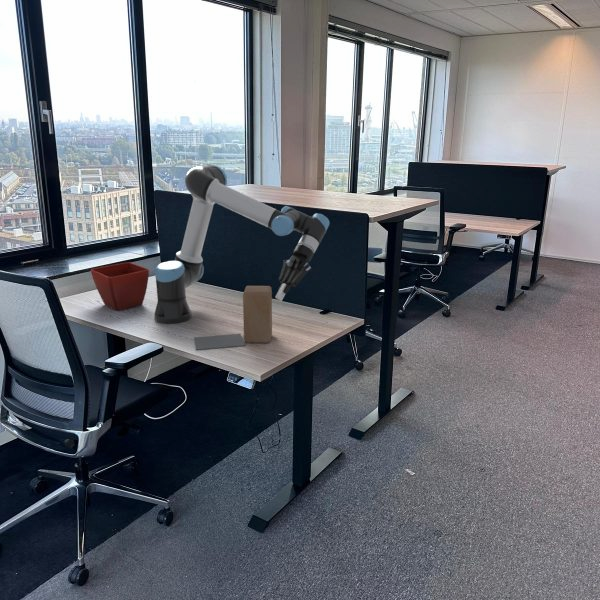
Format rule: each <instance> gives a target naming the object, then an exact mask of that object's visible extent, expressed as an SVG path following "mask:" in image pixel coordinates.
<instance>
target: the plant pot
mask: <svg viewBox="0 0 600 600" xmlns="http://www.w3.org/2000/svg"><path fill="white" fill-rule="evenodd" d="M90 273H91V276H92V277H91V278H92V279H93V282H94V285H95V288H96V289H97V292H98V294H99V297H100V298H101V301H102V302H103V305H105V306H106V307H108V306H109V307H108V308H111V309H113V310H115V311H122V310H126V309H129V308H134V307H137V306H142V305H143V304H144V300H145V297H146V294H147V288H148V284H149V283H148V282H149V274H150V270H149V268H146V267H143V266H140V265H138V264H136V263H132V262H131V261H130V262H122V263H116V264H112V265H105V266H100V267H95V268H91V269H90Z"/></svg>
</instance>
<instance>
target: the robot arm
mask: <svg viewBox="0 0 600 600" xmlns="http://www.w3.org/2000/svg"><path fill="white" fill-rule="evenodd" d="M184 184H185V187H186V189H187V191H188V193H190V195H191V196H192V203H191V208H190V212H189V214H188V215H189V216H188V220H187V224H186V229H185V232H184V237H183V241H182V245H181V249H180V250H179V251H177V252H176V253H175V258H174V260H168V261H164V262H161V263H159V264H158V265H156V267H155V276H154V277H155V284H156V295H157V304H156V307H155V311H154V320H155V321H156V320H157V321H159V322H158V323H160V322H164V323H163V324H179V323H183V322H187V321H189V320H191V318H192V311H191V308H190V306H189V303H188V301H187V294H186V293H187V292H186V291H187V290H186V289H187V288H189V287H191V286H192V285H194V284H197V282H199V280H201V278H202V277H203V275H204V270H205V268H204V265H203V261H204V259H203V258H204V257H202V251H203V247H204V243H205V240H206V236H207V231H208V228H209V225H210V219H211V216H212V213H213V209H214V205H215V204H217V205H219V206H222V207H224V208H225V209H228V210H230V211H232V212H235V213H236V214H239V215H241V216H243V217H245V218H247V219H249V220H251V221H254V222H256V223H258V224H260V225H262V226H264V227H266V228H269V230H272V232H273V233H274V234H275V235H277V236H279V237H283V236H288V235H290V234H291V233H293V231H296V232H298V233H300V234H302V235H301V237H300V239H299V241H298V243H297V245H296V246H295V248H294V249H293V252H292V256H291V257H290V258H289V259H283V260H282V263H283V265H282V268H281V271H280V272H279V277H278V281H279V282H280V285H279V287H278V289H277V290H278V291H277V293H276V295H275V299H276V300H277V301H278V302H282V301H283V299H284V298H285V296H286V295H287V294H288V293H289V291H290V289H291V288H292V287H294V288H296V287H297V286H298V285H299V284H300V282H301V281H302V280H303V278H304V277H305V276H306V275H307V273H308V272H310V271H311V270H312V267H311V266H310V264H309V263H310V262H311V260H312V258H313V256H314V254H315V253H316V251H317V249H318V247H319V245H320V243H321V242H322V241H323V239H324V236H325V234H326V233H327V230H328V228H329V226H330V220H329V218H328V217H326V216H325V215H324V214H322V213H319V212H318V213H317V212H316V213H314V214H313V215H312V216H311V215H308V214H306V213H303V212H301V211H299V210H297V209H295V208H294V207H290V206H287V205H285V206H284V207H282V208H281V211H280V210H278V209H277V208H273V207H272V206H270V205H267V204H265V203H264V202H262V201H258V200H257V199H255V198H252V197H250V196H249V195H246V194H244V193H242V192H240V191H238V190H236V189H233V188H231V187H229V186H227V184H228V177H227V174H226V172H225V171H224V169H223V168H221V166H219V165H217V164H206V165H200V166H194V167H192V168H190V169H189V170H188V171H187V173H186V175H185V177H184ZM157 321H156V322H157ZM178 322H179V323H178Z"/></svg>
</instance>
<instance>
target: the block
mask: <svg viewBox="0 0 600 600" xmlns="http://www.w3.org/2000/svg"><path fill="white" fill-rule="evenodd" d="M272 290H273V289H272V287H271V286H270V285H246V286H245V288H244V291H243V293H242V304H243V305H242V308H243V309H242V310H243V311H242V313H243V314H242V315H243V341H244V343H245V344H246V343H248V344H249V343H251V344H252V343H255V344H258V343H259V344H260V343H261V344H262V343H263V344H269V343H270V342H271V340H272V336H273V300H272V299H273V296H272V295H273V292H272Z"/></svg>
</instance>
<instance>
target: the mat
mask: <svg viewBox="0 0 600 600" xmlns="http://www.w3.org/2000/svg"><path fill="white" fill-rule="evenodd" d="M194 341H195V342H194ZM193 342H194V346H195V351H204V350H214V349H215V350H216V349H227V348H237V347H246V342H245V341H244V337H243V336H242V333H232V334H231V333H230V334H220V335H219V334H218V335H207V336H197V337H193Z"/></svg>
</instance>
